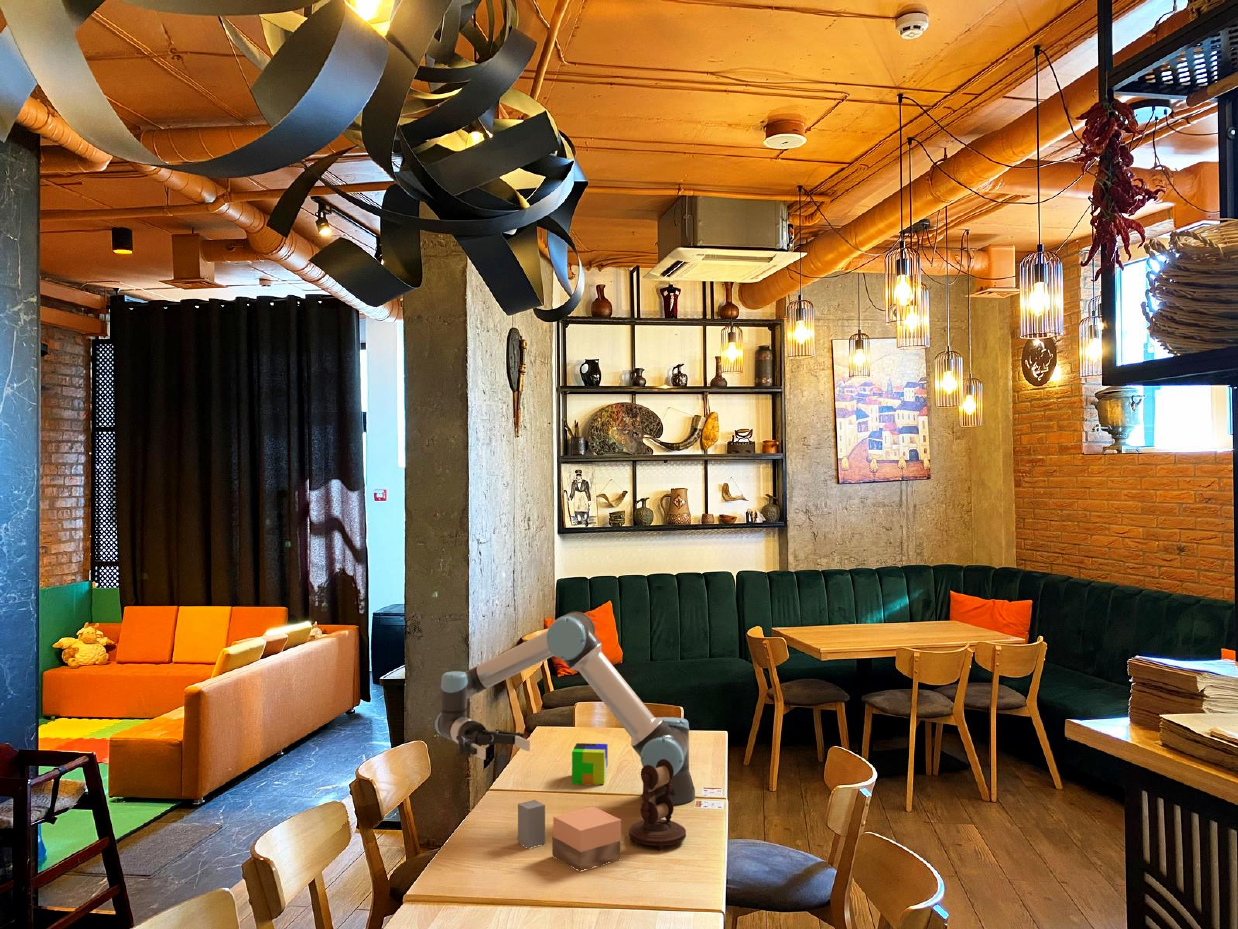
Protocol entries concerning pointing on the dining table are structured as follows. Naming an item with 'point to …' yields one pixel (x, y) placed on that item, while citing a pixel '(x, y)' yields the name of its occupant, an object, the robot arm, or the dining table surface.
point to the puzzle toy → (589, 763)
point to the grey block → (531, 823)
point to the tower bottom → (585, 854)
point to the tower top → (587, 828)
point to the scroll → (657, 809)
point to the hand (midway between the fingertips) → (506, 750)
